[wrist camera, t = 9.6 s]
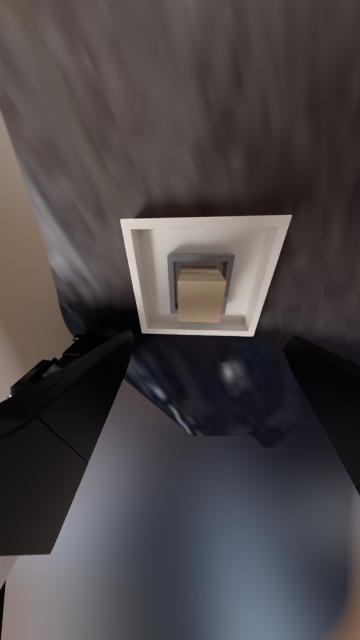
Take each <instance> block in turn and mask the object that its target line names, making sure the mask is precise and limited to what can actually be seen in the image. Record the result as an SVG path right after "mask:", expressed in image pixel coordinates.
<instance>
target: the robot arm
mask: <svg viewBox="0 0 360 640" xmlns="http://www.w3.org/2000/svg"><path fill="white" fill-rule="evenodd" d="M72 341H73V344H72V345H71V346H70V347H69V348H68V349H67V350H66V351H65V352H64V353H63V354H62V355H63V356H62V357H61V358H60V359H59V360H58V359H56V358H55V357H54V358H53V359H52V360H42V361H40V362H39V363H38V364H37V365H36V366H35V367H34V368H32V369H31V370H30V371H29V372H28V373H27V374H25V375H24V376H23V377H22V378H21V379H20V380H18V381H17V382H16V383H15V384H14V385H13V386H12V387H11V390H10V395H9V396H8V397H7V398H8V399H6V400H4V401H2V402H1V403H0V640H1V631H2V619H3V607H4V595H5V583H6V578H7V576H8V574H9V572H10V570H11V569H12V567H13V565H14V563H15V561H16V559H17V557H18V556H20V555H46V554H50V553H51V551H52V549H53V547H54V545H55V542H56V540H57V538H58V535H59V533H60V530H61V528H62V526H63V523H64V521H65V518H66V516H67V514H68V511H69V509H70V506H71V504H72V501H73V499H74V497H75V494H76V492H77V489H78V487H79V485H80V482H81V480H82V477H83V475H84V473H85V470H86V468H87V465H88V462H89V460H90V458H91V455H92V453H93V450H94V448H95V446H96V443H97V441H98V438H99V436H100V434H101V431H102V429H103V426H104V424H105V422H106V419H107V417H108V414H109V412H110V409H111V407H112V405H113V402H114V400H115V397H116V395H117V393H118V390H119V388H120V385H121V383H122V381H123V378H124V376H125V373H126V371H127V368H128V365H129V362H130V358H131V355H132V351H133V348H134V339H133V335H132V332H131V331H124V332H122V333H120V334H119V335H117V336H115V337H114V338H112V339H110V340H109V339H108V338H106V337H77V336H75V337H73V338H72ZM283 351H284V354H285V356H286V359H287V361H288V363H289V366H290V368H291V370H292V373H293V375H294V377H295V379H296V381H297V382H298V384H299V386H300V388H301V390H302V392H303V393H304V395H305V397H306V399H307V401H308V402H309V404H310V406H311V408H312V410H313V411H314V413H315V415H316V417H317V419H318V420H319V422H320V424H321V426H322V428H323V430H324V431H325V433H326V435H327V437H328V439H329V440H330V442H331V444H332V446H333V448H334V449H335V451H336V453H337V455H338V457H339V459H340V460H341V462H342V464H343V466H344V468H345V469H346V471H347V473H348V475H349V477H350V478H351V480H352V482H353V484H354V485H355V488H356V489H357V491H358V493H359V495H360V365H358V364H356V363H354V362H352V361H350V360H348V359H345V358H343V357H341V356H339V355H337V354H335V353H333V352H331V351H329V350H326V349H324V348H322V347H320V346H318V345H316V344H314V343H312V342H310V341H307V340H305V339H303V338H301V337H299V336H289V337H288V338H287V340H286V342H285V344H284V346H283Z"/></svg>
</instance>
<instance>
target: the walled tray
mask: <svg viewBox="0 0 360 640" xmlns="http://www.w3.org/2000/svg"><path fill="white" fill-rule="evenodd" d="M291 217H292V215H268V216H228V217H187V218H147V219H120V221H121V227H122V232H123V237H124V242H125V247H126V252H127V257H128V263H129V268H130V273H131V278H132V283H133V288H134V294H135V299H136V304H137V309H138V314H139V319H140V325H141V330H142V333H151V334H187V335H223V336H253V335H254V332H255V329H256V326H257V323H258V320H259V317H260V313H261V310H262V307H263V304H264V301H265V298H266V295H267V292H268V289H269V286H270V282H271V279H272V276H273V273H274V270H275V267H276V264H277V261H278V258H279V255H280V251H281V248H282V245H283V242H284V239H285V236H286V233H287V230H288V227H289V224H290V220H291ZM181 266H216V267H217V269H218V270H219V272H220V273H221V274H222V276H223V277H224V279H225V280H226V281H227V282H226V288H225V294H224V300H223V306H222V312H221V317H220V323H212V322H178V283H177V281H178V277H179V273H180V270H181Z"/></svg>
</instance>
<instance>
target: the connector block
mask: <svg viewBox="0 0 360 640" xmlns="http://www.w3.org/2000/svg"><path fill="white" fill-rule="evenodd" d="M226 282H227V281H226V280H225V279H224V277H223V276H222V274H221V273H220V272H219V270H218V269H217V267H216V266H181V270H180V273H179V277H178V281H177V283H178V322H212V323H220V317H221V312H222V306H223V300H224V294H225V288H226Z"/></svg>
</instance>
